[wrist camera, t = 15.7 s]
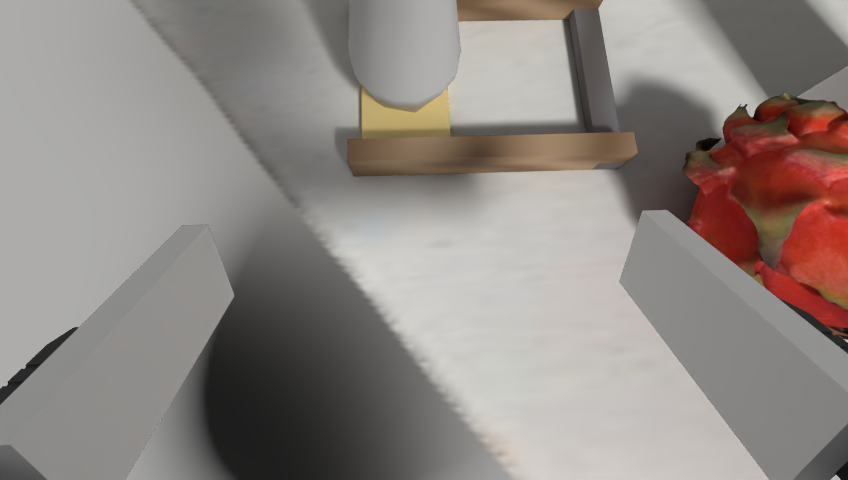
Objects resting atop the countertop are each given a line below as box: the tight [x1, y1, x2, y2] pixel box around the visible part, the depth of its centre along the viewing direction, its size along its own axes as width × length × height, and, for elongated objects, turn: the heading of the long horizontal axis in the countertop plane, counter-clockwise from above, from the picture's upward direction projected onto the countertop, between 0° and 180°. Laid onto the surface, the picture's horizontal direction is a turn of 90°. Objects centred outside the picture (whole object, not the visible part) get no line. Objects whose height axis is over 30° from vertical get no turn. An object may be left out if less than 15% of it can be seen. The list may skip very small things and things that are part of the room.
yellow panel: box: [362, 86, 451, 139], centre depth 22 cm, size 5×9×1 cm, turn 2°
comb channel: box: [348, 0, 638, 176], centre depth 22 cm, size 15×11×2 cm
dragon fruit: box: [682, 93, 848, 340], centre depth 18 cm, size 8×8×12 cm
